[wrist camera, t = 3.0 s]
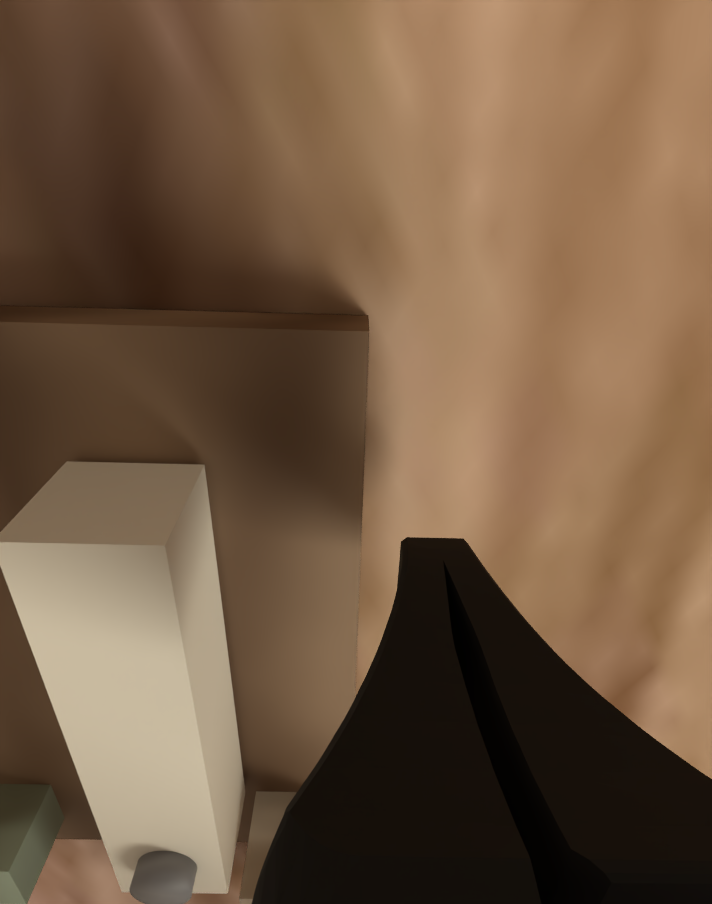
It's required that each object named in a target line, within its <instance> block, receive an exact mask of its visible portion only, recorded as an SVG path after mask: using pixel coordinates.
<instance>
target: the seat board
mask: <svg viewBox="0 0 712 904" xmlns="http://www.w3.org/2000/svg"><path fill="white" fill-rule="evenodd" d="M368 352H369V320H368V315H334V314H296V313H259V312H221V311H183V310H145V309H107V308H69V307H31V306H0V532H1V531H2V530H3V529H4V528H5V527H6V526H7V525H8V524H9V522H10V521H11V520H12V519H13V518H14V517H15V516H16V515H17V514H18V513H19V512H20V511H21V510H22V509H23V507H24V506H25V505H26V504H27V503H28V502H29V501H30V500H31V499H32V498H33V497H34V496H35V495H36V494H37V493H38V491H39V490H40V489H41V488H42V487H43V486H44V485H45V484H46V483H47V482H48V481H49V480H50V479H51V478H52V476H53V475H54V474H55V473H56V472H57V471H58V470H59V469H60V468H61V467H62V466H63V465H64V464H65V463H66V461H71V462H114V463H157V464H201V465H205V473H206V481H207V489H208V497H209V505H210V513H211V521H212V529H213V537H214V545H215V553H216V561H217V569H218V577H219V585H220V593H221V601H222V609H223V617H224V625H225V633H226V641H227V649H228V657H229V665H230V673H231V681H232V689H233V697H234V705H235V713H236V721H237V729H238V737H239V745H240V753H241V761H242V769H243V777H244V785H245V798H244V803H243V809H242V815H241V821H240V826H239V832H238V838H237V842H248V846H247V852H246V859H245V865H244V872H243V878H242V884H241V891H240V897H239V900H240V904H252V900H253V896H254V892H255V888H256V884H257V881H258V878H259V875H260V872H261V869H262V866H263V864H264V861H265V858H266V856H267V853H268V851H269V848H270V846H271V843H272V841H273V838H274V836H275V834H276V831H277V829H278V827H279V824H280V822H281V820H282V818H283V815H284V812H285V809H286V807H287V806H288V804H289V803H290V801H291V800H292V799H293V797H294V796H295V794H296V793H297V791H298V790H299V789H300V787H301V786H302V784H303V783H304V781H305V780H306V779H307V777H308V776H309V774H310V773H311V771H312V770H313V769H314V767H315V766H316V764H317V763H318V761H319V759H320V758H321V756H322V755H323V753H324V752H325V750H326V748H327V747H328V745H329V743H330V742H331V740H332V738H333V737H334V735H335V733H336V732H337V730H338V728H339V727H340V725H341V723H342V722H343V720H344V718H345V716H346V714H347V713H348V711H349V709H350V707H351V705H352V703H353V702H354V700H355V688H356V662H357V636H358V610H359V584H360V558H361V533H362V507H363V481H364V455H365V429H366V403H367V378H368ZM55 839H97V840H102V837H101V835H100V832H99V829H98V827H97V824H96V821H95V819H94V816H93V813H92V810H91V808H90V805H89V802H88V800H87V797H86V794H85V792H84V789H83V786H82V784H81V781H80V778H79V776H78V773H77V770H76V768H75V765H74V762H73V760H72V757H71V754H70V751H69V749H68V746H67V743H66V741H65V738H64V735H63V733H62V730H61V727H60V725H59V722H58V719H57V717H56V714H55V711H54V709H53V706H52V703H51V701H50V698H49V695H48V693H47V690H46V687H45V684H44V682H43V679H42V676H41V674H40V671H39V668H38V666H37V663H36V660H35V658H34V655H33V652H32V650H31V647H30V644H29V642H28V639H27V636H26V634H25V631H24V628H23V626H22V623H21V620H20V617H19V615H18V612H17V609H16V607H15V604H14V601H13V599H12V596H11V593H10V591H9V588H8V585H7V583H6V580H5V577H4V575H3V572H2V569H1V567H0V904H27V903H28V900H29V898H30V896H31V894H32V891H33V889H34V887H35V884H36V882H37V880H38V878H39V875H40V873H41V871H42V868H43V866H44V864H45V862H46V859H47V857H48V855H49V852H50V850H51V848H52V846H53V843H54V841H55Z"/></svg>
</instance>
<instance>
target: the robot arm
mask: <svg viewBox="0 0 712 904" xmlns="http://www.w3.org/2000/svg"><path fill="white" fill-rule="evenodd" d="M252 904H712V779H711V778H709V777H708V776H706V775H704V774H703V773H701V772H700V771H699V770H697V769H696V768H694V767H693V766H691V765H690V764H689V763H687V762H686V761H684V760H683V759H682V758H680V757H679V756H678V755H676V754H675V753H673V752H672V751H671V750H669V749H668V748H666V747H665V746H664V745H662V744H661V743H659V742H658V741H657V740H656V739H654V738H653V737H652V736H650V735H649V734H648V733H646V732H645V731H644V730H642V729H641V728H640V727H639V726H637V725H636V724H635V723H634V722H632V721H631V720H630V719H629V718H628V717H626V716H625V715H624V714H623V713H621V712H620V711H619V710H618V709H617V708H615V707H614V706H613V705H612V704H610V703H609V702H608V701H607V700H606V699H604V698H603V697H602V696H601V695H600V694H599V693H597V692H596V691H595V690H594V689H593V688H592V687H591V686H589V685H588V684H587V683H586V682H585V681H584V680H583V679H582V678H581V677H580V676H579V675H578V674H577V673H576V672H575V671H573V670H572V669H571V668H570V667H569V666H568V665H567V664H566V663H565V662H564V661H563V660H562V659H561V658H560V657H559V656H558V655H557V654H556V653H555V652H554V651H553V649H552V648H551V647H550V646H549V645H548V644H547V643H546V642H545V641H544V640H543V639H542V638H541V637H540V635H539V634H538V633H537V632H536V631H535V630H534V629H533V628H532V627H531V625H530V624H529V623H528V622H527V621H526V620H525V618H524V617H523V616H522V615H521V614H520V613H519V611H518V610H517V609H516V608H515V606H514V605H513V604H512V603H511V601H510V600H509V599H508V598H507V596H506V595H505V594H504V593H503V592H502V590H501V589H500V588H499V586H498V585H497V584H496V582H495V581H494V580H493V578H492V577H491V576H490V574H489V573H488V572H487V570H486V569H485V567H484V566H483V565H482V563H481V562H480V560H479V559H478V558H477V556H476V555H475V553H474V552H473V550H472V549H471V547H470V546H469V545H468V543H467V542H466V541H465V540H464V539H456V538H410V537H407V538H405V539H404V540H403V541H401V550H400V562H399V573H398V585H397V592H396V596H395V600H394V604H393V608H392V611H391V614H390V617H389V620H388V623H387V626H386V628H385V631H384V634H383V637H382V640H381V642H380V645H379V647H378V650H377V652H376V655H375V657H374V660H373V662H372V664H371V666H370V669H369V671H368V673H367V675H366V677H365V679H364V681H363V683H362V685H361V687H360V689H359V691H358V693H357V695H356V698H355V700H354V702H353V703H352V705H351V707H350V709H349V711H348V713H347V714H346V716H345V718H344V720H343V722H342V723H341V725H340V727H339V728H338V730H337V732H336V733H335V735H334V737H333V738H332V740H331V742H330V743H329V745H328V747H327V748H326V750H325V752H324V753H323V755H322V756H321V758H320V759H319V761H318V763H317V764H316V766H315V767H314V769H313V770H312V771H311V773H310V774H309V776H308V777H307V779H306V780H305V781H304V783H303V784H302V786H301V787H300V789H299V790H298V791H297V793H296V794H295V796H294V797H293V799H292V800H291V801H290V803H289V804H288V806H287V807H286V809H285V812H284V815H283V818H282V820H281V822H280V824H279V827H278V829H277V831H276V834H275V836H274V838H273V841H272V843H271V846H270V848H269V851H268V853H267V856H266V858H265V861H264V864H263V866H262V869H261V872H260V875H259V878H258V881H257V884H256V888H255V892H254V896H253V900H252Z"/></svg>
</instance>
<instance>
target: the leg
mask: <svg viewBox="0 0 712 904" xmlns="http://www.w3.org/2000/svg"><path fill="white" fill-rule="evenodd" d="M0 567H1V569H2V572H3V575H4V577H5V580H6V583H7V585H8V588H9V591H10V593H11V596H12V599H13V601H14V604H15V607H16V609H17V612H18V615H19V617H20V620H21V623H22V626H23V628H24V631H25V634H26V636H27V639H28V642H29V644H30V647H31V650H32V652H33V655H34V658H35V660H36V663H37V666H38V668H39V671H40V674H41V676H42V679H43V682H44V684H45V687H46V690H47V693H48V695H49V698H50V701H51V703H52V706H53V709H54V711H55V714H56V717H57V719H58V722H59V725H60V727H61V730H62V733H63V735H64V738H65V741H66V743H67V746H68V749H69V751H70V754H71V757H72V760H73V762H74V765H75V768H76V770H77V773H78V776H79V778H80V781H81V784H82V786H83V789H84V792H85V794H86V797H87V800H88V802H89V805H90V808H91V810H92V813H93V816H94V819H95V821H96V824H97V827H98V829H99V832H100V835H101V837H102V840H103V843H104V845H105V848H106V851H107V853H108V856H109V859H110V861H111V864H112V867H113V869H114V872H115V875H116V877H117V880H118V883H119V886H120V888H121V891H122V892H130V893H131V895H132V896H133V897H134V898H135V899H137V900H139V901H140V902H143V903H145V904H184V903H186V902H187V901H188V900H189V899H190V898H191V895H192V893H223V894H228V890H229V884H230V878H231V873H232V867H233V861H234V855H235V849H236V844H237V838H238V832H239V826H240V821H241V815H242V809H243V803H244V798H245V785H244V777H243V769H242V761H241V753H240V745H239V737H238V729H237V721H236V713H235V705H234V697H233V689H232V681H231V673H230V665H229V657H228V649H227V641H226V633H225V625H224V617H223V609H222V601H221V593H220V585H219V577H218V569H217V561H216V553H215V545H214V537H213V529H212V521H211V513H210V505H209V497H208V489H207V481H206V473H205V465H201V464H157V463H114V462H71V461H66V463H65V464H64V465H63V466H62V467H61V468H60V469H59V470H58V471H57V472H56V473H55V474H54V475H53V476H52V478H51V479H50V480H49V481H48V482H47V483H46V484H45V485H44V486H43V487H42V488H41V489H40V490H39V491H38V493H37V494H36V495H35V496H34V497H33V498H32V499H31V500H30V501H29V502H28V503H27V504H26V505H25V506H24V507H23V509H22V510H21V511H20V512H19V513H18V514H17V515H16V516H15V517H14V518H13V519H12V520H11V521H10V522H9V524H8V525H7V526H6V527H5V528H4V529H3V530H2V531H1V532H0Z"/></svg>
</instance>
